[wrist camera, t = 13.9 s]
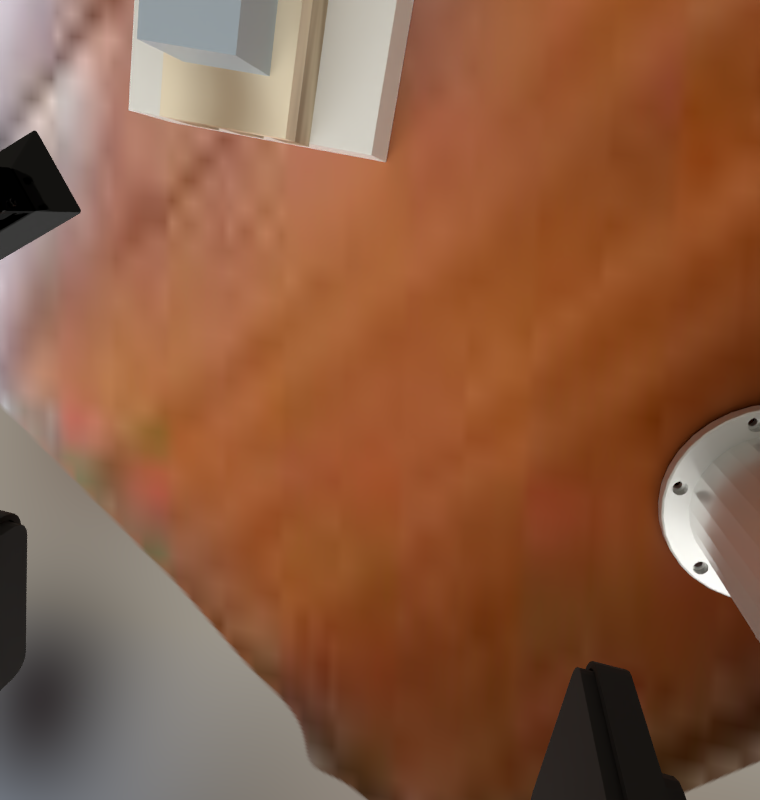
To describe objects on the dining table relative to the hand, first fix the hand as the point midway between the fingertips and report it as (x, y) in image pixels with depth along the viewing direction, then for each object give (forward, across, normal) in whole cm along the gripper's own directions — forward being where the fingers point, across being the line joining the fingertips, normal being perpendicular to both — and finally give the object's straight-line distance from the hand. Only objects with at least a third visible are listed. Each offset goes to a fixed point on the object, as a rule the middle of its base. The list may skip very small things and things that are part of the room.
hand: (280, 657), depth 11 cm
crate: (+21, +11, -13) cm, 27 cm away
